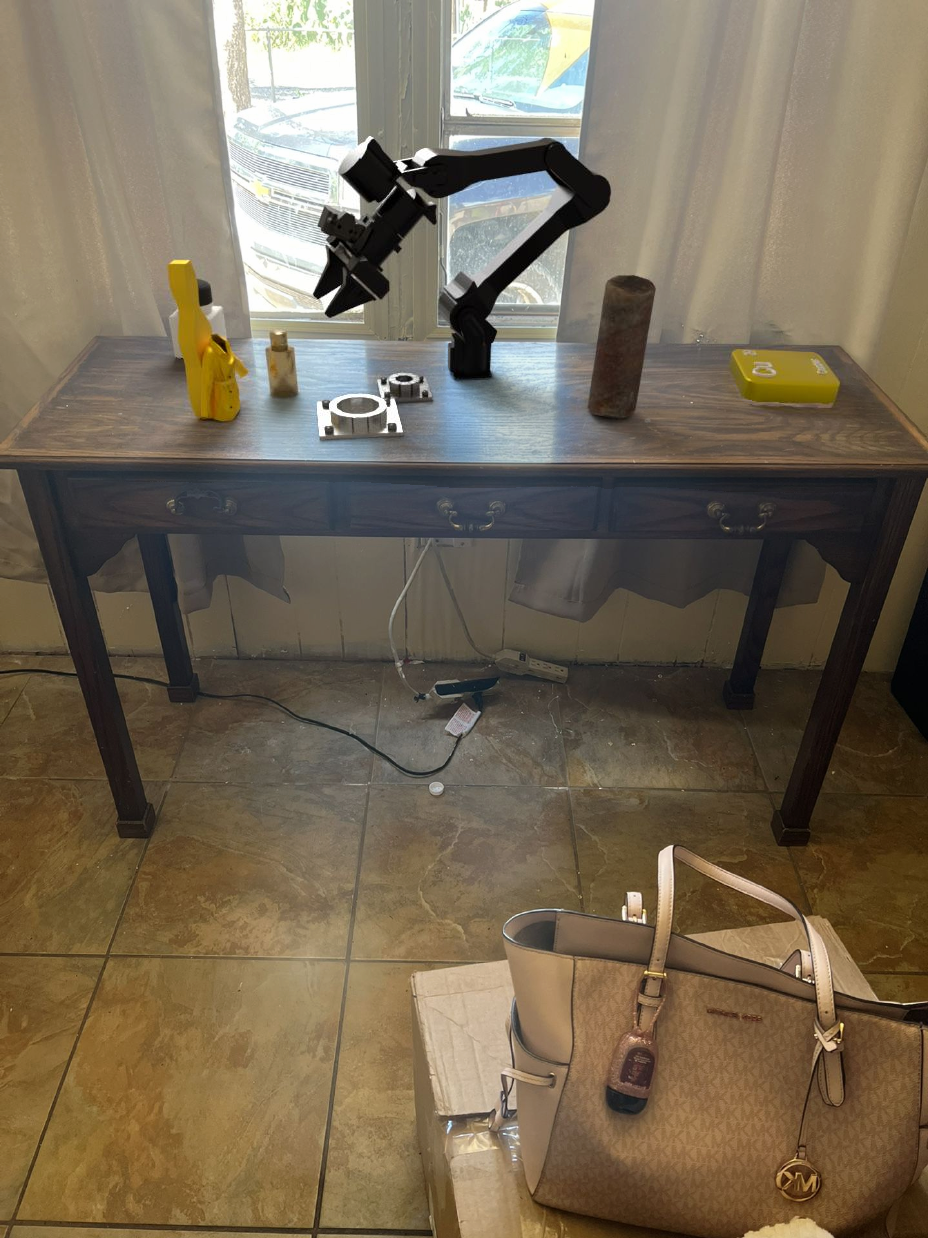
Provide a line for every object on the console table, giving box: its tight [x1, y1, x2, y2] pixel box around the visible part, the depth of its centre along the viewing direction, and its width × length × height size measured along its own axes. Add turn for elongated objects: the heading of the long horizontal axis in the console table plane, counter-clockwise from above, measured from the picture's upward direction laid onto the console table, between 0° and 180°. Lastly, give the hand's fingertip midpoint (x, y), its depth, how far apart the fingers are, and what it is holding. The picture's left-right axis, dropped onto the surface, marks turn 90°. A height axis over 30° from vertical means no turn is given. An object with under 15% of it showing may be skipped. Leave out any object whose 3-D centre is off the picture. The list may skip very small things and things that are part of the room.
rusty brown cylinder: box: [587, 274, 657, 420], centre depth 132 cm, size 8×7×20 cm
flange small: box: [376, 372, 433, 403], centre depth 142 cm, size 8×8×2 cm
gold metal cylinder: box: [264, 329, 299, 399], centre depth 138 cm, size 4×4×10 cm
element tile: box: [728, 348, 841, 404], centre depth 146 cm, size 15×15×5 cm
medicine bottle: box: [168, 278, 228, 359], centre depth 151 cm, size 7×7×12 cm
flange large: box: [316, 393, 404, 441], centre depth 133 cm, size 12×12×2 cm
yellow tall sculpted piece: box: [167, 259, 249, 422], centre depth 128 cm, size 18×8×22 cm, turn 172°
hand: (320, 306), depth 135 cm, fingers open, 9 cm apart
